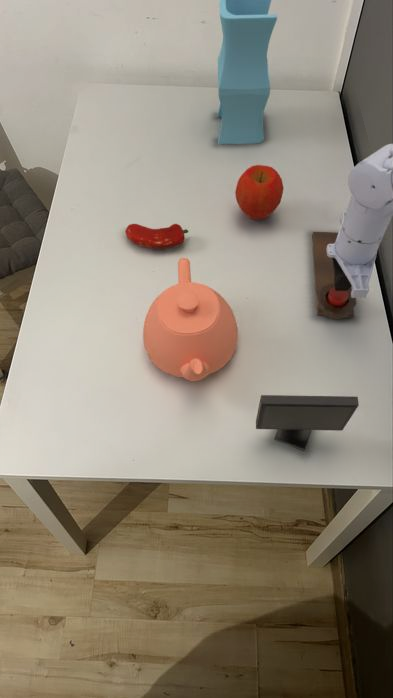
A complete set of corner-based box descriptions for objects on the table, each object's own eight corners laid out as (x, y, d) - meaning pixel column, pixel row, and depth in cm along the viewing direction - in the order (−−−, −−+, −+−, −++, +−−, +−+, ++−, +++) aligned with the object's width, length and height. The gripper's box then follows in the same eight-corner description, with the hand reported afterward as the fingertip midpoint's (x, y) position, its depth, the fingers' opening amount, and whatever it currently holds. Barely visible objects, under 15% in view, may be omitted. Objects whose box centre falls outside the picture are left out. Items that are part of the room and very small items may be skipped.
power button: (347, 308, 82) (349, 302, 81) (327, 307, 82) (329, 301, 81) (345, 292, 84) (347, 286, 82) (326, 291, 84) (328, 285, 83)
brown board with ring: (353, 322, 83) (357, 314, 81) (316, 321, 84) (319, 312, 81) (345, 235, 93) (348, 226, 90) (311, 234, 93) (314, 225, 91)
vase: (264, 143, 106) (277, 17, 84) (217, 144, 106) (219, 18, 84) (261, 113, 111) (274, -13, 89) (217, 114, 111) (218, -12, 89)
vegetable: (187, 215, 91) (124, 220, 93) (184, 228, 87) (118, 234, 89) (191, 238, 94) (129, 242, 96) (188, 251, 90) (124, 256, 92)
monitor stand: (304, 451, 73) (312, 435, 67) (274, 439, 74) (279, 423, 68) (313, 423, 75) (321, 406, 69) (283, 412, 76) (289, 394, 70)
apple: (243, 238, 93) (246, 194, 84) (227, 207, 97) (228, 162, 88) (285, 226, 94) (294, 181, 85) (268, 196, 98) (274, 150, 89)
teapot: (247, 403, 77) (253, 366, 66) (149, 414, 76) (139, 379, 66) (227, 288, 87) (230, 240, 77) (142, 297, 87) (132, 250, 76)
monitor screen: (342, 431, 69) (359, 405, 62) (255, 429, 70) (261, 404, 62) (341, 422, 70) (357, 396, 62) (255, 421, 70) (261, 394, 63)
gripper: (328, 190, 72) (312, 252, 84) (339, 269, 65) (320, 325, 77) (378, 190, 72) (354, 252, 84) (394, 270, 65) (366, 325, 76)
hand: (341, 287), depth 80 cm, fingers closed
